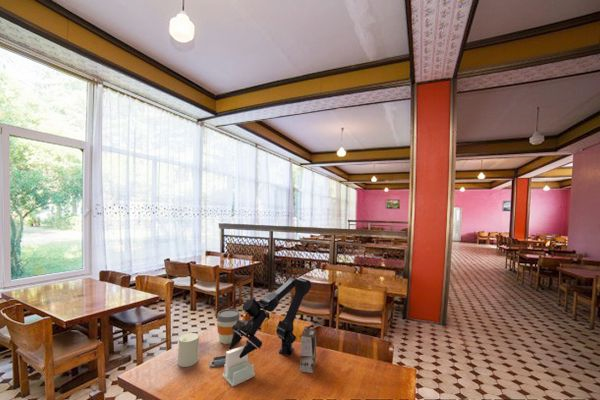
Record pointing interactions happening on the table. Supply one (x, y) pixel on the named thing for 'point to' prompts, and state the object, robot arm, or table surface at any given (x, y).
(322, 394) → the table surface
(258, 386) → the table surface
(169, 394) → the table surface
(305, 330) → the coffee box
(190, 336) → the can
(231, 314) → the reusable coffee cup
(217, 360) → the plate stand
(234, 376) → the dish rack
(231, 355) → the white block
